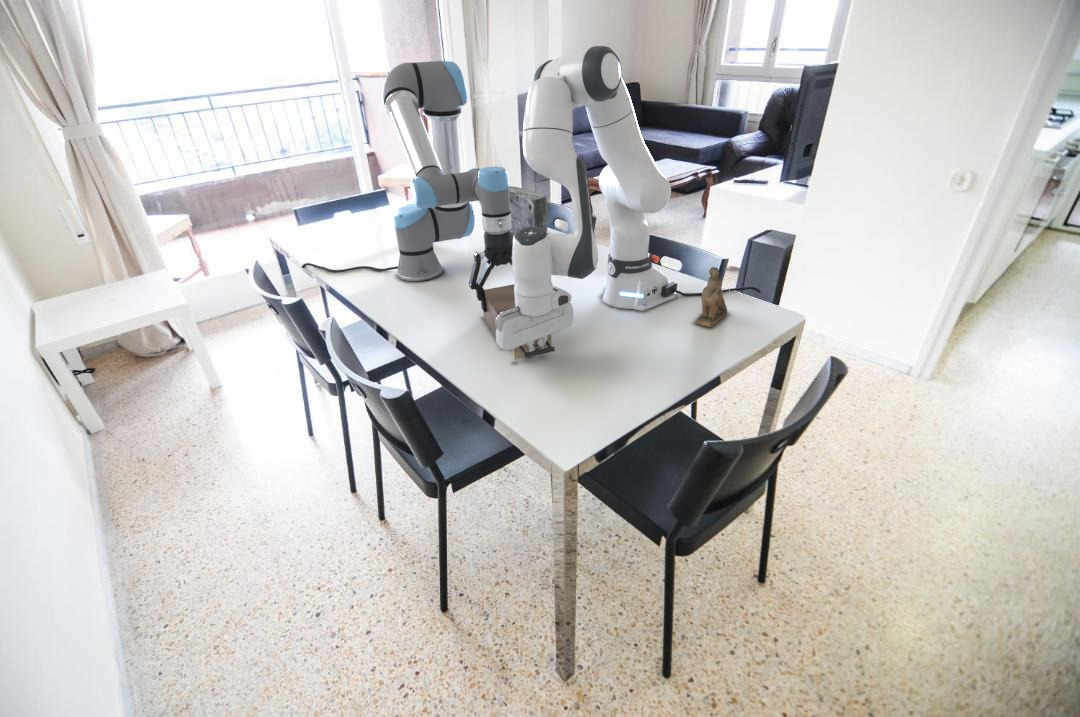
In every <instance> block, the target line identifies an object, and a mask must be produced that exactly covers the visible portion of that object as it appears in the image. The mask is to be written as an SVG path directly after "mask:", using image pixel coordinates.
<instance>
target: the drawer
mask: <svg viewBox="0 0 1080 717" xmlns="http://www.w3.org/2000/svg"><path fill="white" fill-rule="evenodd" d="M538 341H539V339H537V340H534V344H532V345H534V346H535V345H536V344H538ZM511 350H512V357H513V359H514V360H515V361H516V360H519V359H527V358H532V357H536V356H540V355H544V354H545V355H546V354H549V353H553V352H555V351H556V349H555V346H552V334H549V335H548V339H547V341H546V343H545V345H544V349H539V350H535V351H531V352H529V347H528V346H527V345H526V344H524V345H521V346H519V347H516V348H514V349H511Z"/></svg>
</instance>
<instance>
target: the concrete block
mask: <svg viewBox="0 0 1080 717" xmlns="http://www.w3.org/2000/svg"><path fill="white" fill-rule="evenodd" d="M509 191H510V208H511V223H512V228H511V229H510V230H511V231H512V236H513V238H514V235H515V233H516V232H517V231H519V230H521V229H523V228H526V227H541V228H543V229H545V230H546V231H547V232H548V196H547V195H546V194H543V193H541V192H537V191H534V190H531V189H527V188H523V187H518V186H511V185H509Z"/></svg>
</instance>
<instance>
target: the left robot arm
mask: <svg viewBox="0 0 1080 717" xmlns="http://www.w3.org/2000/svg"><path fill="white" fill-rule="evenodd" d="M381 91H382V92H381V98H382V99H381V101H382V105H383V108H384V110H385V113H386V114H387V116H388V117H389V118H390V119H392V121H393V124H394V127H395V129H396V132H397V134H398V137H399V140H400V142H401V144H402V148H403V150H404V153H405V156H406V158H407V161H408V164H409V166H410V169H411V171H412V174H413V177H414V178H412V179H411V181H410V193H411V196H412V201H413V203H411V204H407V205H404V206H401V207H399V208H397V209H396V210H395V211H394V213H393V215H392V219H393V228H394V230H395V231H394V232H395V236H396V241H397V247H398V251H399V259H398V265H396V266H391V267H386V268H377V267H374V266H369V265H360V266H353V267H349V268H344V269H331V268H328V267H325V266H321V265H318V264H315V263H311V262H306V263H303V264H302V266H301V269H303V268H305V267H307V266H309V267H313V268H316V269H319V270H324V271H327V272H329V273H330V272H331V273H344V272H350V271H354V270H361V269H362V270H364V269H367V270H372V271H377V272H387V271H391V270H392V271H393V270H397V276H398V278H399V279H400V280H402V281H406V282H413V283H414V282H425V281H429V280H432V279H435V278H438V277H439V276H440V275H441V274H442V273H443V268H442V264H441V263H440V260H439V259H438V256H437V254H436V252H435V250H434V244H435V243H440V242H445V241H452V240H457V239H458V240H461V239H462V238H467V237H470V236H471V235H472V233H473V231H474V228H475V222H476V221H475V213H474V212H475V211H474V207H473V205H472V203H471V202H480V209H481V220H482V230H483V231H484V232H483V240H484V242H483V243H484V250H483V251H480V252H478V251H474V252H473V259H474V260H473V264H472V268H471V273H470V275H469V276H470V277H469V281H468V287H469V288H470V289H471V290H472V291H473V290H475V294H476V298H477V301H478V302H480V306H481V310H482V312H483V311H484V312H487V309H486V300H485V290H486V289H485V288H484V285H485V284H486V281H487V280H488V278H489V276H490V274H491V273H492V270H493V269H494V268H495V267H499V266H503V265H504V266H505V265H508V264H509V265H510V266H511V267H512V247H513V236H512V231H511V230H510V229H511V228H512V223H511V208H510V191H509V186H511V185H510V183H511V182H510V179H509V173H508V169H506V168H505V167H503V166H486V167H482V168H479V167H477V168H476V167H474V168H470V169H469V170H467V171H462V170H461V157H460V156H461V155H460V142H459V129H458V118H459V117H460V115H461V114H462V107H464V106H465V105H466V104H467V102H468V91H467V86H466V81H465V77H464V75H463V73H462V70H461V68H460V66H459V65H458V64H457V63H456V62H454V61H451V60H450V61H448V60H434V61H433V60H432V61H417V62H415V61H414V62H409V61H408V62H403V63H400V64H398V65H396V66H395V67H393V68H392V69H391V70H390V71H389V72H388V75H387V76H386V78H385V80H384V82H383V85H382V90H381ZM419 109H421V110H422V115H424V116H425V117H426V119H428V126H429V132H428V131H427V129H426V126H425V123H424V120H423V118H422V116H421V113H420V111H419ZM484 258H486V259H487V260H486V261H485V265H484V267H483V268H482V271H481V273H480V269H481V265H482V261H483V260H484ZM479 273H480V275H479Z"/></svg>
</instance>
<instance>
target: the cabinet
mask: <svg viewBox="0 0 1080 717" xmlns="http://www.w3.org/2000/svg"><path fill="white" fill-rule="evenodd" d="M514 286H515V283H514V284H508V285H501V286H497V287H491V288H487V289H486V288H485V289H484V290H485V300H486V309H487V312H484V311H483V310H482V312H483V319H484V320H485V323H486V324H487V325H488V327H489V328H490V330H491V331H492V333H493V335H494V336H495V337H496V318H497V317H498V316H499V315H500V313H501V312H503V311H507V310H509V309H511V308H514V307H515V296H514ZM500 317H501V316H500Z"/></svg>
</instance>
